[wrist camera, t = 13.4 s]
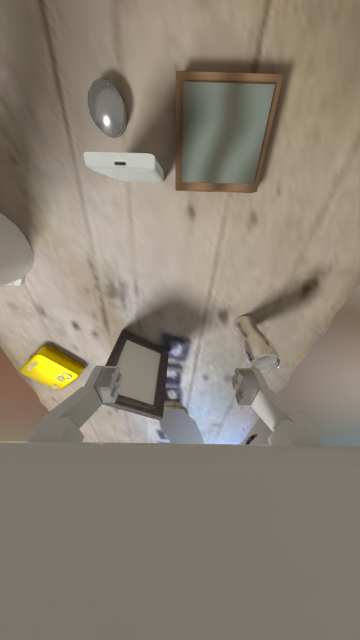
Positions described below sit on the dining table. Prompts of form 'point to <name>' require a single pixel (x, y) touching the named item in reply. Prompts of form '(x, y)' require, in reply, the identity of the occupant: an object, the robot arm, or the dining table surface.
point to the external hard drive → (125, 166)
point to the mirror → (223, 129)
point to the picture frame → (140, 375)
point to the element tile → (52, 368)
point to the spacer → (107, 108)
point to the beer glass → (256, 346)
